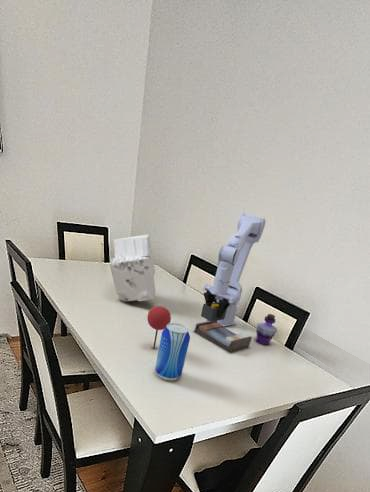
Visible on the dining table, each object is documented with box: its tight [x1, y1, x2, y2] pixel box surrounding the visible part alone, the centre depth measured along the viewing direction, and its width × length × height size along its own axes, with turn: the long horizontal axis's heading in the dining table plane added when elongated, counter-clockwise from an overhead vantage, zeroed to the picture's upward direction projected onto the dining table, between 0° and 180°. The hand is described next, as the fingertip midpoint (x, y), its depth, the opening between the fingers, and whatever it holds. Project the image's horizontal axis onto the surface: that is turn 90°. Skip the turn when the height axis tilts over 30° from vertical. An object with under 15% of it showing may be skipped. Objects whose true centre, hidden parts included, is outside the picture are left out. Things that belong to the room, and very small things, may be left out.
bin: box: [200, 301, 227, 322], centre depth 149 cm, size 8×6×5 cm
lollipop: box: [146, 305, 172, 350], centre depth 129 cm, size 8×8×15 cm
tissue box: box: [109, 233, 157, 303], centre depth 163 cm, size 20×16×25 cm
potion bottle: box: [255, 313, 279, 346], centre depth 156 cm, size 9×9×12 cm
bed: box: [194, 320, 252, 354], centre depth 151 cm, size 12×19×4 cm, turn 44°
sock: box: [211, 303, 219, 309], centre depth 149 cm, size 3×3×5 cm
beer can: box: [154, 322, 191, 382], centre depth 115 cm, size 8×8×16 cm
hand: (213, 314), depth 150 cm, fingers closed on bin, 5 cm apart
